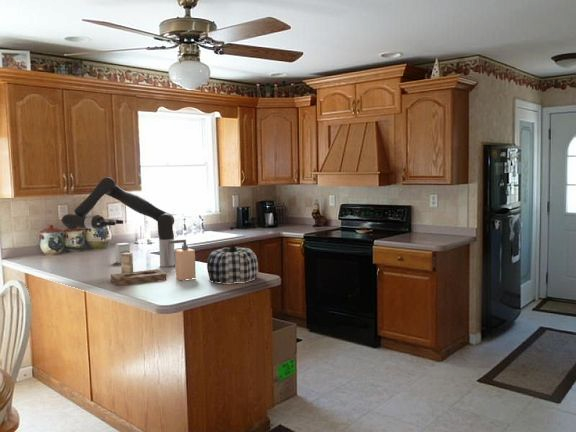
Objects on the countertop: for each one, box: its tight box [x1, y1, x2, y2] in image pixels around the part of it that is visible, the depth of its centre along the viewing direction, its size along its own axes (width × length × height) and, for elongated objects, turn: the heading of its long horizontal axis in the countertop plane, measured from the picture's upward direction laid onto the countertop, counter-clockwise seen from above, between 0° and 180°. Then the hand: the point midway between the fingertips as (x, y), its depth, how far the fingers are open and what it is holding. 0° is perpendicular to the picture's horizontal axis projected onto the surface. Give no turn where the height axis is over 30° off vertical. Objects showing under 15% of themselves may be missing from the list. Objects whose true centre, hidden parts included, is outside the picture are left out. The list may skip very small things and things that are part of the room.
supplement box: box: [115, 242, 131, 264], centre depth 345 cm, size 7×7×13 cm
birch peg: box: [120, 252, 134, 276], centre depth 283 cm, size 5×5×16 cm
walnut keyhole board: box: [110, 268, 167, 287], centre depth 287 cm, size 26×16×4 cm, turn 122°
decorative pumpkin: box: [206, 243, 259, 283], centre depth 285 cm, size 30×29×20 cm
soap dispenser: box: [169, 239, 197, 281], centre depth 288 cm, size 13×9×22 cm
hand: (118, 222), depth 306 cm, fingers open, 8 cm apart
